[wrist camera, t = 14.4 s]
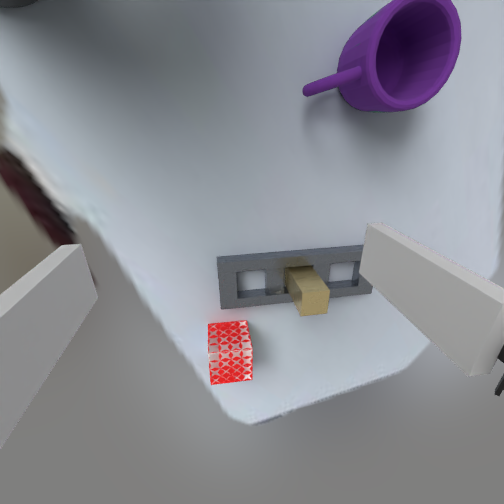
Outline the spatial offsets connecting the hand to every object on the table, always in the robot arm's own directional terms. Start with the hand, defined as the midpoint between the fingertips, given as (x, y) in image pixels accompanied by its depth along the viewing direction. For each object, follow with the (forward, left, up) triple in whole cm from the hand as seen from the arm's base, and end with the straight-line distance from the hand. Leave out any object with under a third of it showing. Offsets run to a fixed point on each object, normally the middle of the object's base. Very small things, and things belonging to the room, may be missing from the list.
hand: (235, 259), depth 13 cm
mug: (+20, +12, -32) cm, 40 cm away
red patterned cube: (0, -34, -32) cm, 47 cm away
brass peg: (+14, -20, -32) cm, 40 cm away
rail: (+14, -20, -32) cm, 40 cm away
